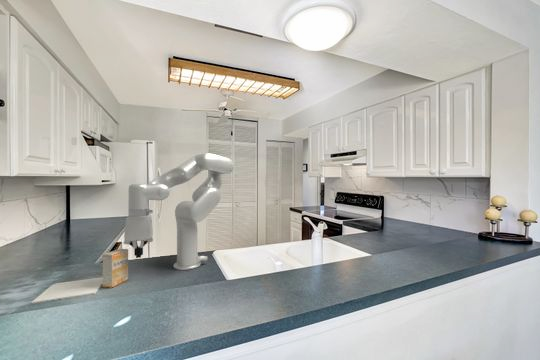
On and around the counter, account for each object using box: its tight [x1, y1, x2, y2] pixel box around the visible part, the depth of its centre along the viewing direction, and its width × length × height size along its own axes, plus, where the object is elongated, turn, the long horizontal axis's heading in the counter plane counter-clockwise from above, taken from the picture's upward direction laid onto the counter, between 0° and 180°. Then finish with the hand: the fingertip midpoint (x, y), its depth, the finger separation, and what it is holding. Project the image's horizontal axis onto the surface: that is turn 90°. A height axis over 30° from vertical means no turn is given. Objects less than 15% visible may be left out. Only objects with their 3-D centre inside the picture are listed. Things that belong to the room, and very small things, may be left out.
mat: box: [30, 276, 103, 305], centre depth 91 cm, size 18×16×1 cm
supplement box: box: [101, 248, 129, 289], centre depth 96 cm, size 8×5×13 cm, turn 168°
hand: (138, 256), depth 99 cm, fingers closed
